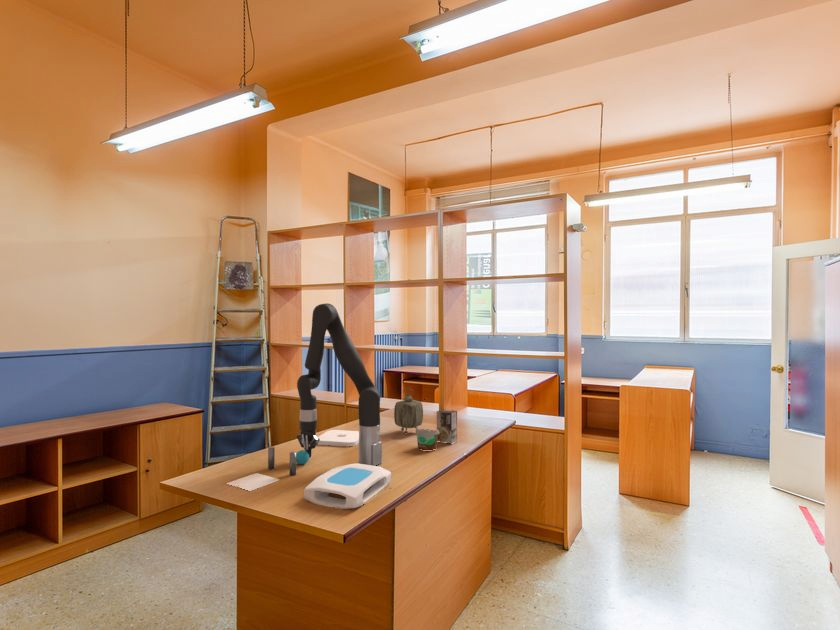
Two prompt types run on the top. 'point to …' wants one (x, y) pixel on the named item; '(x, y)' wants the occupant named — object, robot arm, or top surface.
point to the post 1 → (271, 457)
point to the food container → (427, 438)
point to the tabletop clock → (408, 412)
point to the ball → (302, 457)
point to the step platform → (347, 485)
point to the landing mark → (253, 481)
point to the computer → (339, 438)
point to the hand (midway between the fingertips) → (307, 457)
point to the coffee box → (447, 425)
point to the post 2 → (292, 464)
